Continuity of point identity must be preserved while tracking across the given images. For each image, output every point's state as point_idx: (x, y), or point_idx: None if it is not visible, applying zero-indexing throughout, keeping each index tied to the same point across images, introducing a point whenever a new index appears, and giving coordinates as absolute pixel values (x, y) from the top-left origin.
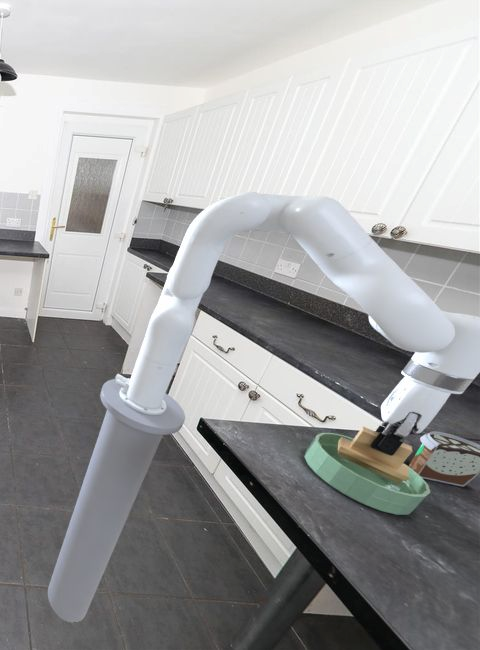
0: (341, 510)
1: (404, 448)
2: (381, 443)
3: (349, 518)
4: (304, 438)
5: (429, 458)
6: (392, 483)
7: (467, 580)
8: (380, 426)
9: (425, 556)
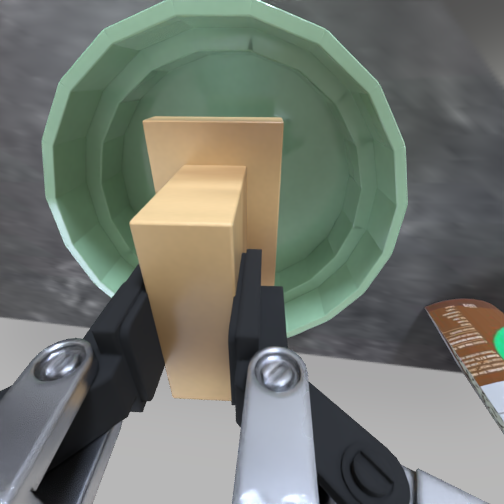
0: (25, 160)
1: (169, 378)
2: (109, 302)
3: (15, 177)
4: (416, 9)
5: (463, 362)
6: (299, 266)
7: (89, 325)
8: (236, 339)
9: (77, 288)
